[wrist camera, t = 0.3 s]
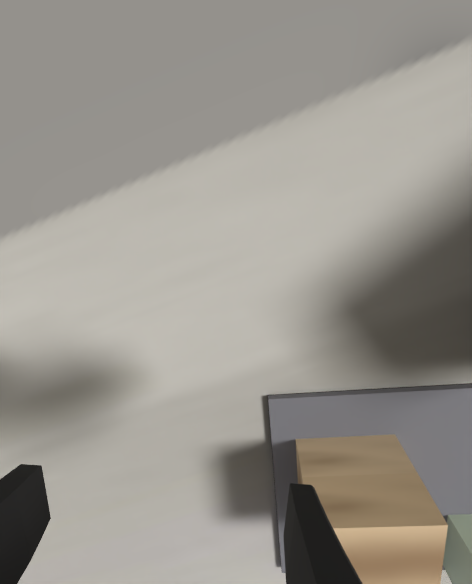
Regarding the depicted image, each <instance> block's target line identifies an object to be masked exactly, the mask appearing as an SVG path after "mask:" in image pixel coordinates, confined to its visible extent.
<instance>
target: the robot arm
mask: <svg viewBox="0 0 472 584" xmlns="http://www.w3.org/2000/svg"><path fill="white" fill-rule="evenodd" d="M49 520H50V512H49V506H48V500H47V495H46V489H45V483H44V478H43V472H42V466H39V465H25V464H21V465H19V466H18V467H17V468H15V469H14V470H12V471H11V472H10V473H8V474H7V475H6V476H4V477H3V478H2V479H0V584H17V583H18V581H19V579H20V578H21V576H22V574H23V573H24V571H25V569H26V568H27V566H28V564H29V562H30V561H31V559H32V557H33V554H34V552H35V550H36V548H37V546H38V544H39V542H40V540H41V538H42V536H43V534H44V531H45V529H46V527H47V525H48V523H49ZM283 537H284V555H285V571H286V584H363V583H362V582H361V580H360V578H359V576H358V575H357V573H356V571H355V569H354V567H353V565H352V564H351V562H350V560H349V558H348V556H347V554H346V553H345V551H344V549H343V547H342V545H341V543H340V541H339V539H338V537H337V535H336V533H335V531H334V529H333V527H332V525H331V523H330V521H329V519H328V517H327V515H326V513H325V511H324V509H323V506H322V504H321V502H320V500H319V497H318V495H317V493H316V490H315V488H314V487H313V486H312V485H308V484H294V483H290V486H289V494H288V502H287V510H286V518H285V527H284V535H283Z"/></svg>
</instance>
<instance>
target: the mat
mask: <svg viewBox="0 0 472 584" xmlns="http://www.w3.org/2000/svg"><path fill="white" fill-rule="evenodd" d="M268 403H269V416H270V429H271V441H272V454H273V467H274V480H275V492H276V505H277V518H278V531H279V544H280V556H281V569H282V573H286V571H285V555H284V537H283V535H284V527H285V518H286V510H287V502H288V494H289V486H290V483H294V484H298V476H297V457H296V439H308V438H329V437H350V436H372V435H393V434H395V435H396V437H397V439H398V441H399V442H400V444H401V446H402V447H403V449H404V451H405V453H406V454H407V456H408V458H409V459H410V461H411V463H412V465H413V466H414V468H415V470H416V471H417V473H418V475H419V476H420V478H421V480H422V482H423V483H424V485H425V487H426V488H427V490H428V492H429V494H430V495H431V497H432V499H433V500H434V502H435V504H436V506H437V507H438V509H439V511H440V512H441V514H442V516H443V517H444V519H445V521H446V523H447V518H448V515H462V514H472V384H459V385H442V386H424V387H406V388H389V389H371V390H353V391H336V392H318V393H300V394H283V395H268ZM442 570H445V568H444V566H442Z"/></svg>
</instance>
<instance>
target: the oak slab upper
mask: <svg viewBox="0 0 472 584" xmlns="http://www.w3.org/2000/svg"><path fill="white" fill-rule="evenodd" d="M302 478H303V484H308V485H312V486H313V487H314V488H315V490H316V493H317V495H318V497H319V500H320V502H321V504H322V506H323V509H324V511H325V513H326V515H327V517H328V519H329V521H330V523H331V525H332V527H333V529H334V531H335V533H336V535H337V537H338V539H339V541H340V543H341V545H342V547H343V549H344V551H345V553H346V554H347V556H348V558H349V560H350V562H351V564H352V565H353V567H354V569H355V571H356V573H357V575H358V576H359V578H360V580H361V582H362V583H363V584H440V581H441V573H442V566H443V559H444V551H445V544H446V537H447V529H448V524H447V523H446V521H445V519H444V517H443V516H442V514H441V512H440V511H439V509H438V507H437V506H436V504H435V502H434V500H433V499H432V497H431V495H430V494H429V492H428V490H427V488H426V487H425V485H424V483H423V482H422V480H421V478H420V476H419V475H418V473H398V474H373V475H347V476H321V477H302Z"/></svg>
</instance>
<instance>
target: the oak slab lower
mask: <svg viewBox="0 0 472 584" xmlns="http://www.w3.org/2000/svg"><path fill="white" fill-rule="evenodd" d="M296 457H297V476H298V484H303V478H302V477H321V476H347V475H373V474H398V473H417V471H416V470H415V468H414V466H413V465H412V463H411V461H410V459H409V458H408V456H407V454H406V453H405V451H404V449H403V447H402V446H401V444H400V442H399V441H398V439H397V437H396V435H395V434H393V435H372V436H350V437H329V438H308V439H296Z"/></svg>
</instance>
